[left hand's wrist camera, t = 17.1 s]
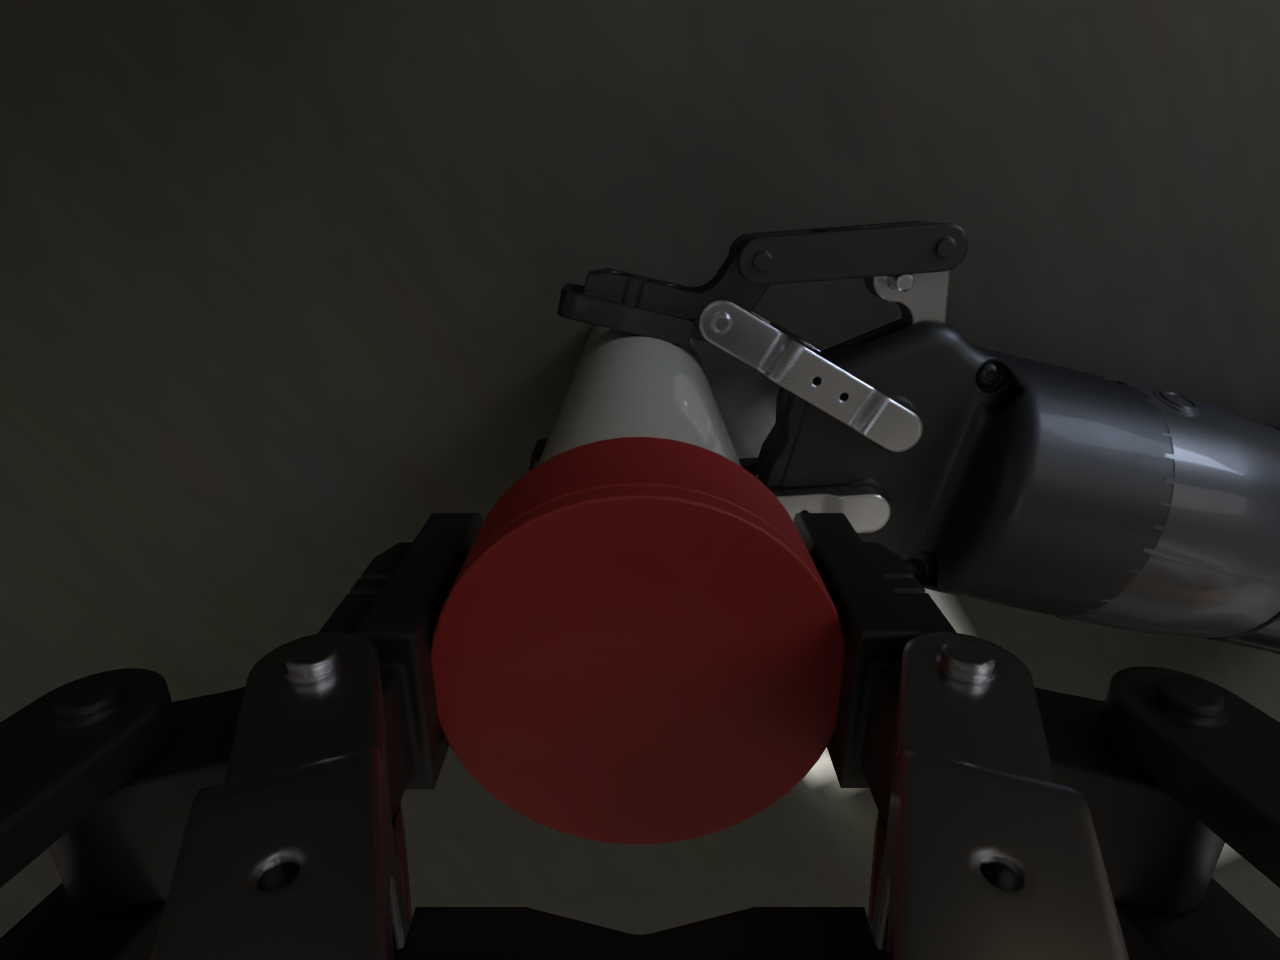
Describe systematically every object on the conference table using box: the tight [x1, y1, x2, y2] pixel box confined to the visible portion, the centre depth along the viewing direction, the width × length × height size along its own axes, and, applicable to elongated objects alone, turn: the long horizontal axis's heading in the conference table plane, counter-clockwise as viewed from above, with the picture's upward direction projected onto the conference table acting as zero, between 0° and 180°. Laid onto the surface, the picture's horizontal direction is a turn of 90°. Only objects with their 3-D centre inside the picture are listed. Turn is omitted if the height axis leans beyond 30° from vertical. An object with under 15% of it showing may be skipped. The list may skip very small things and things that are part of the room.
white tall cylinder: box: [537, 325, 741, 466], centre depth 18 cm, size 4×4×19 cm
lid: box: [431, 437, 845, 844], centre depth 10 cm, size 5×5×2 cm
